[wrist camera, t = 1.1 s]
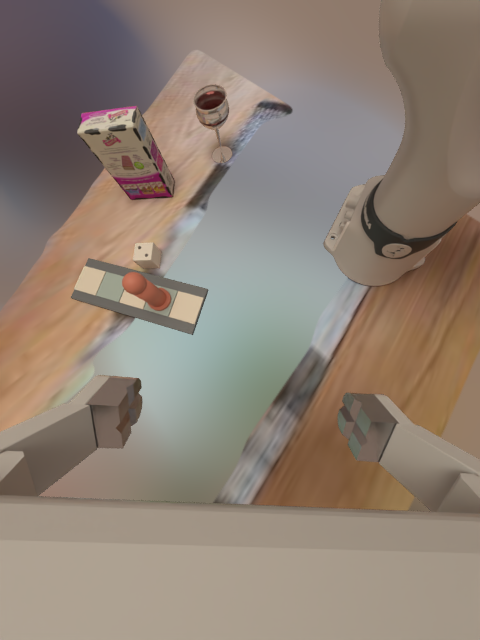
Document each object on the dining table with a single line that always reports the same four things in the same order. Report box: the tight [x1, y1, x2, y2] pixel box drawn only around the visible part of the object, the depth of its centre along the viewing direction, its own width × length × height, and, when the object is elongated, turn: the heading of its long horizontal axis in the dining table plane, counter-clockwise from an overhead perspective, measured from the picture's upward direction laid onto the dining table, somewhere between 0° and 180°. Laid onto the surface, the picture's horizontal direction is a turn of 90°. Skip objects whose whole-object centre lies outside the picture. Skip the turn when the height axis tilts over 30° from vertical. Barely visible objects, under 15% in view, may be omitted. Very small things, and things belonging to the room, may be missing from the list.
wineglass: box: [193, 84, 232, 163], centre depth 50 cm, size 7×7×12 cm
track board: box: [71, 258, 208, 335], centre depth 50 cm, size 10×30×1 cm, turn 73°
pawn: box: [122, 272, 171, 311], centre depth 42 cm, size 5×5×12 cm
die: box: [133, 243, 162, 269], centre depth 50 cm, size 4×4×4 cm
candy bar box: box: [77, 106, 174, 199], centre depth 48 cm, size 11×5×16 cm, turn 88°
